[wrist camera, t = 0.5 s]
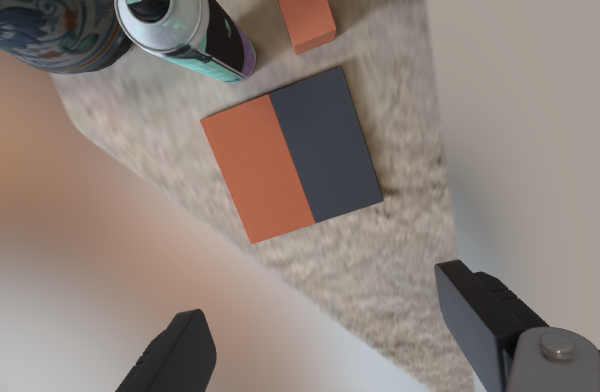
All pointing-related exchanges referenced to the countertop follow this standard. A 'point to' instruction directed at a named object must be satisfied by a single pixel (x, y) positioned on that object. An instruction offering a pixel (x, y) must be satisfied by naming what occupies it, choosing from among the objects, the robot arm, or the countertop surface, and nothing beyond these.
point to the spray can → (190, 36)
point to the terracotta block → (308, 23)
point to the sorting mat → (294, 156)
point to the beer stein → (62, 34)
